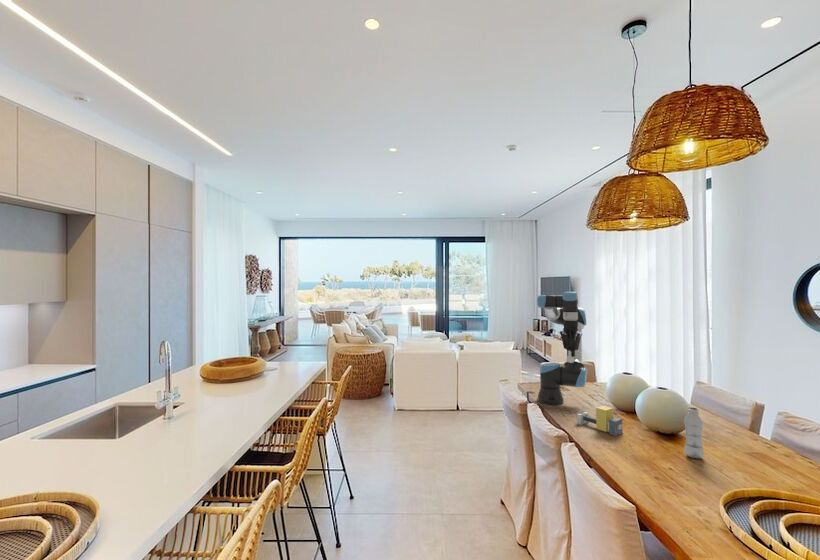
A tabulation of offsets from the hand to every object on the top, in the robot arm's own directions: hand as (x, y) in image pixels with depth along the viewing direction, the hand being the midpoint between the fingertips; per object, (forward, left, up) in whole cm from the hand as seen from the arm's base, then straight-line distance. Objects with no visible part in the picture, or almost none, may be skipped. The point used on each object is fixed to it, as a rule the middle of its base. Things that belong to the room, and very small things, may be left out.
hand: (571, 362), depth 210 cm
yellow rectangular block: (+5, +22, -29) cm, 37 cm away
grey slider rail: (+5, +19, -29) cm, 35 cm away
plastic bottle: (+2, +59, -30) cm, 66 cm away
